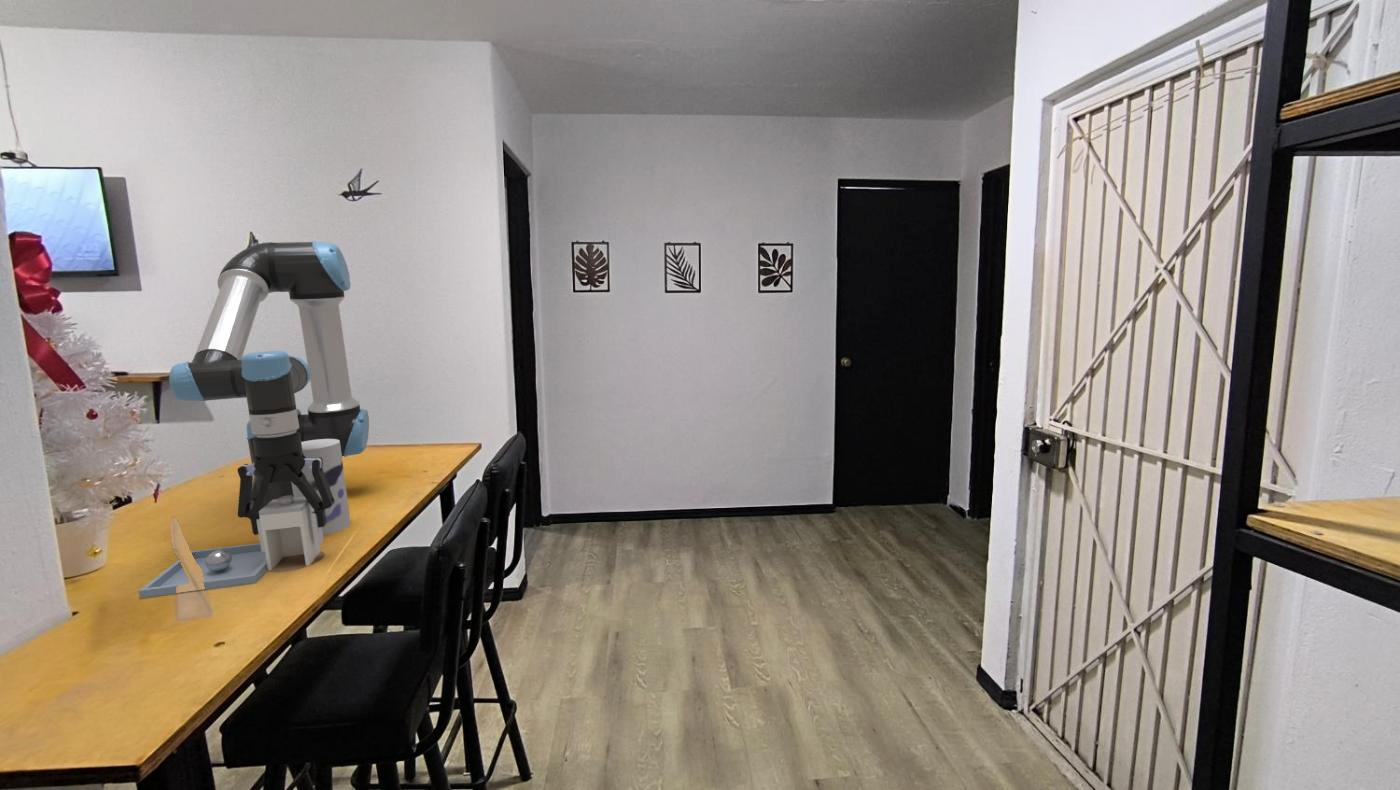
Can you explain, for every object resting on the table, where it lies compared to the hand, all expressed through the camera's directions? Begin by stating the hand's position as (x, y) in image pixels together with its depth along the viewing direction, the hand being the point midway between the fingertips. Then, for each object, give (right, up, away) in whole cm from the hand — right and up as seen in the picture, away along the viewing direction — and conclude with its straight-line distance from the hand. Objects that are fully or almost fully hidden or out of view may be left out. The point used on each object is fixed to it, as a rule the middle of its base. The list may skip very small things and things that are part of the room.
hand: (293, 545), depth 123 cm
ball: (-12, -4, -3) cm, 13 cm away
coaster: (0, -4, +1) cm, 4 cm away
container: (-4, -1, +18) cm, 18 cm away
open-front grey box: (0, -3, 0) cm, 3 cm away
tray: (-12, -5, -3) cm, 13 cm away
